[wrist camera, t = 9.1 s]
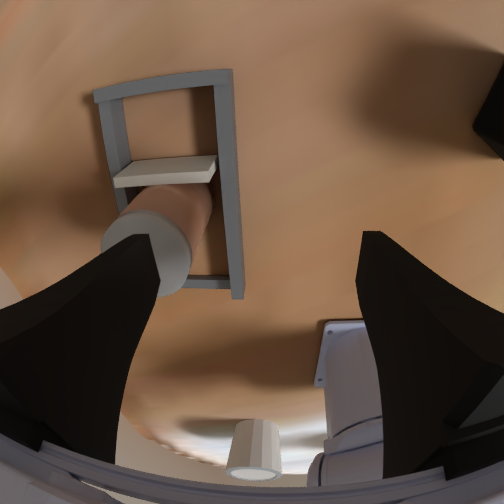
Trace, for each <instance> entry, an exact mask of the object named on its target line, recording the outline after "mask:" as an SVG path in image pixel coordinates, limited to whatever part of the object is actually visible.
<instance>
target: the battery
mask: <svg viewBox="0 0 504 504" xmlns="http://www.w3.org/2000/svg"><path fill="white" fill-rule="evenodd" d="M473 129H474V131H475V132H476V133H477V134H478V135H479V136H480V137H481V138H482V139H483V140H484V141H485V142H486V143H487V144H488V145H489V146H490V147H491V148H492V149H493V150H494V151H495V152H496V153H497V154H498V155H499V156H500V157H501V159H502V160H503V161H504V65H503V67H502V69H501V71H500V73H499V75H498V77H497V79H496V81H495V83H494V85H493V87H492V89H491V91H490V93H489V95H488V97H487V99H486V101H485V103H484V105H483V107H482V109H481V111H480V112H479V114H478V116H477V118H476V120H475V122H474V124H473Z"/></svg>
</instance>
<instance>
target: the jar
mask: <svg viewBox="0 0 504 504" xmlns="http://www.w3.org/2000/svg"><path fill="white" fill-rule="evenodd" d="M214 205H215V195H214V191H213V188H212V186H211V184H210V182H206V183H183V184H164V185H148V186H146V187H145V188H144V189H143V190H142V191H141V192H140V193H139V194H138V195H137V196H136V197H135V198H134V200H133V201H132V202H131V203H130V204H129V205H128V206H127V207H126V208H125V209H124V211H123V212H122V213H121V214H120V215H119V216H118V217H117V218H116V220H115V221H114V222H113V223H112V224H111V225H110V227H109V228H108V229H107V230H106V232H105V233H104V235H103V238H102V241H101V253H103V252H104V251H106V250H107V249H109V248H110V247H112V246H113V245H115V244H116V243H118V242H120V241H121V240H123V239H125V238H126V237H128V236H130V235H132V234H149V237H150V241H151V245H152V249H153V253H154V257H155V261H156V264H157V268H158V272H159V276H160V279H161V282H160V286H159V290H158V294H157V297H163V296H168V295H171V294H173V293H175V292H176V291H177V290H179V289H180V288H181V287H182V286H183V284H184V283H185V281H186V279H187V276H188V274H189V271H190V268H191V266H192V263H193V260H194V258H195V255H196V252H197V250H198V247H199V245H200V242H201V239H202V237H203V234H204V232H205V229H206V227H207V224H208V222H209V219H210V217H211V214H212V212H213V209H214Z"/></svg>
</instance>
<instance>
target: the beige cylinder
mask: <svg viewBox="0 0 504 504" xmlns="http://www.w3.org/2000/svg"><path fill="white" fill-rule="evenodd" d="M226 474H228V475H229V476H231V477H234V478H238V479H243V480H251V481H268V480H274V479H277V478H280V477H281V476H282V464H281V451H280V437H279V427H278V426H277V424H275V423H273V422H271V421H267V420H261V419H248V420H243V421H240V422H238V423H237V424H236V427H235V432H234V436H233V440H232V445H231V449H230V453H229V458H228V462H227V466H226Z"/></svg>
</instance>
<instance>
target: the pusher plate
mask: <svg viewBox="0 0 504 504" xmlns="http://www.w3.org/2000/svg"><path fill="white" fill-rule="evenodd" d="M218 165H219V161H218V155H206V156H188V157H174V158H162V159H150V160H140V161H134V162H132V163H131V164H130V165H128V166H127V167H126V168H125V169H123V170H122V171H121V172H120V173H118V174H117V175H116V176H115V177H114V178H113V180H114V185H115V188H121V187H134V186H148V185H164V184H183V183H206V182H210V180H211V178H212V176H213V174H214V172H215V170H216V169H217V167H218Z"/></svg>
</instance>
